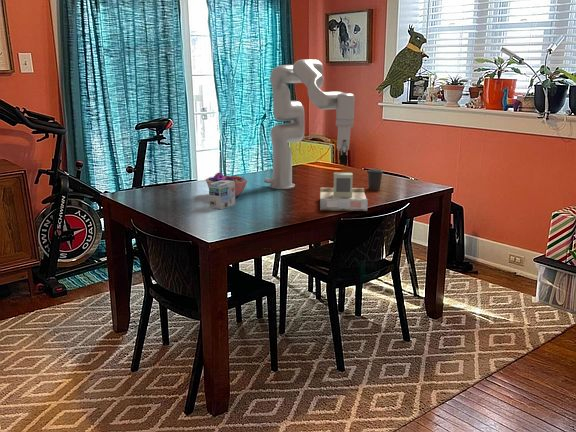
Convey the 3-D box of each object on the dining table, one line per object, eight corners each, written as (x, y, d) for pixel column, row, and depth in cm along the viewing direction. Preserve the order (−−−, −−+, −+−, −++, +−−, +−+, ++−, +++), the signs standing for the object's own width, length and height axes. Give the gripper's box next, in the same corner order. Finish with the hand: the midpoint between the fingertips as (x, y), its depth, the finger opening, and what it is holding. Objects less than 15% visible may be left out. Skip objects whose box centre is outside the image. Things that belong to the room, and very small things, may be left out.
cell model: (238, 202, 261) (237, 177, 258) (199, 198, 267) (198, 174, 264) (253, 194, 276) (253, 171, 273) (215, 191, 283) (215, 168, 280)
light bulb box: (221, 209, 248) (220, 185, 245) (208, 207, 252) (208, 183, 249) (236, 204, 257) (235, 180, 254) (224, 202, 260) (223, 179, 258)
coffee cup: (372, 186, 293) (373, 167, 290) (385, 189, 287) (386, 169, 285) (362, 188, 287) (363, 169, 285) (375, 191, 282) (376, 171, 279)
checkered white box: (320, 211, 246) (320, 198, 244) (320, 199, 267) (320, 187, 265) (367, 211, 245) (367, 199, 243) (363, 199, 266) (364, 188, 264)
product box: (333, 194, 258) (333, 172, 256) (351, 194, 258) (352, 172, 255) (333, 197, 253) (334, 174, 251) (352, 197, 253) (352, 175, 250)
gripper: (335, 120, 255) (333, 158, 260) (336, 125, 239) (334, 165, 244) (352, 120, 255) (350, 158, 260) (354, 125, 238) (352, 166, 243)
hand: (343, 162), depth 252 cm, fingers open, 9 cm apart
